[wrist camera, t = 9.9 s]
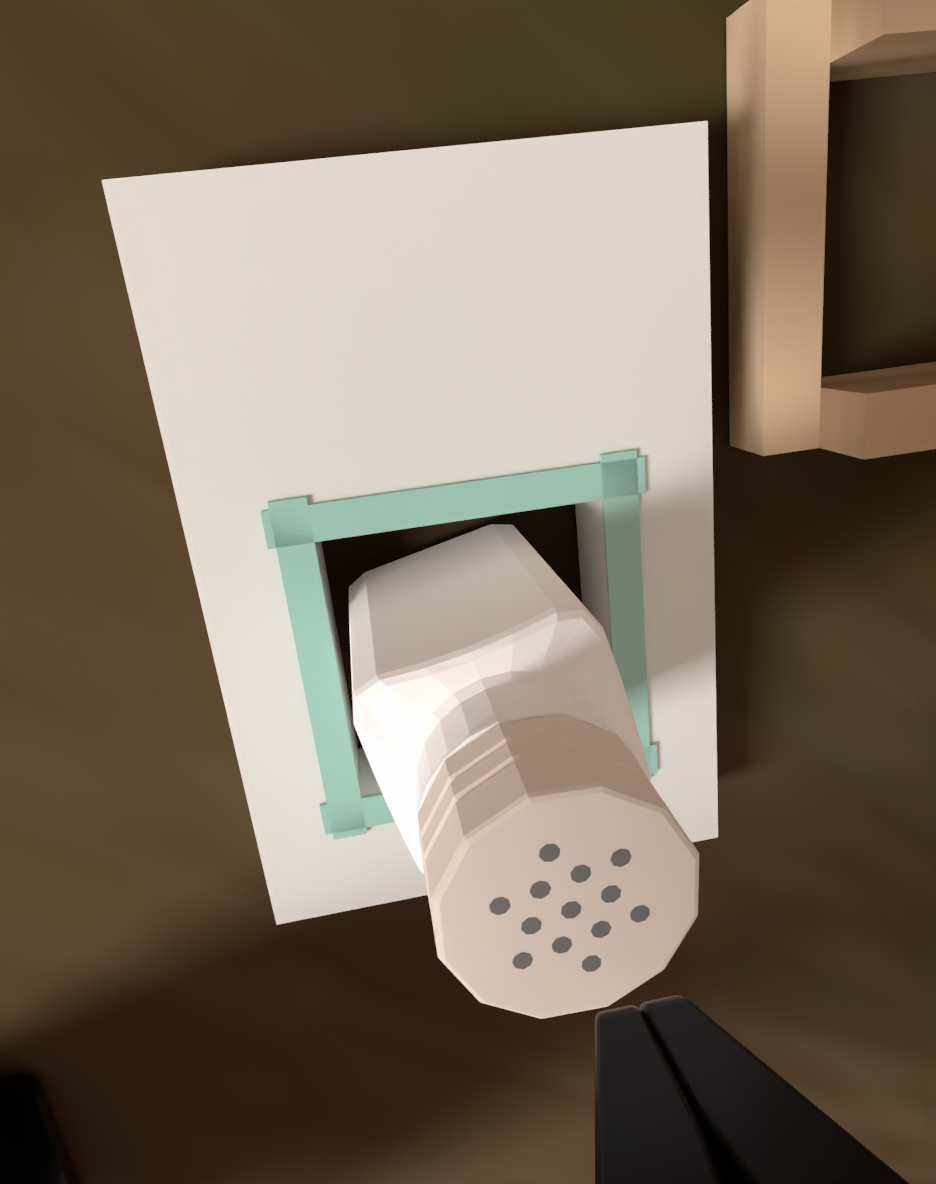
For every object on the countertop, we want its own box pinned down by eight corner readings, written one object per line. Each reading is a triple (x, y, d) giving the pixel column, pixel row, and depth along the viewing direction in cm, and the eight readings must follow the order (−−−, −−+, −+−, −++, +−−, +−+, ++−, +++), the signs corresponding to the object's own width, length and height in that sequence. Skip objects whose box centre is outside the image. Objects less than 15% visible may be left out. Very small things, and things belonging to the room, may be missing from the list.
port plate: (683, 790, 20) (720, 840, 19) (282, 866, 19) (276, 928, 17) (663, 144, 16) (710, 119, 14) (131, 198, 15) (99, 178, 13)
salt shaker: (337, 574, 17) (338, 836, 9) (512, 507, 18) (692, 698, 9) (403, 728, 19) (463, 1094, 10) (565, 666, 19) (768, 972, 10)
